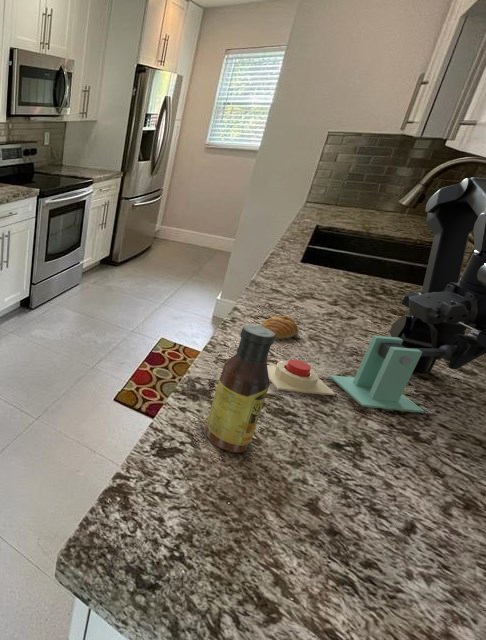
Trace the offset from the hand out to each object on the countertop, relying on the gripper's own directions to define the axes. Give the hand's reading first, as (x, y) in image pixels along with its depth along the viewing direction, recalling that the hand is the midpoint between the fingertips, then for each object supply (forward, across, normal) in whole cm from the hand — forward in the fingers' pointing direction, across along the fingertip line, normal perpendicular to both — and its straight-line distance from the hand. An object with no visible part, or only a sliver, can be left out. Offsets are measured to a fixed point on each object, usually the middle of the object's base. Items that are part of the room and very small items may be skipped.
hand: (444, 363), depth 74 cm
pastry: (+9, -23, -14) cm, 28 cm away
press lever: (0, 0, -4) cm, 4 cm away
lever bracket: (+9, 0, -9) cm, 12 cm away
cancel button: (+6, -2, -22) cm, 23 cm away
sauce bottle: (+9, +16, -42) cm, 46 cm away
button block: (+9, -2, -22) cm, 24 cm away
